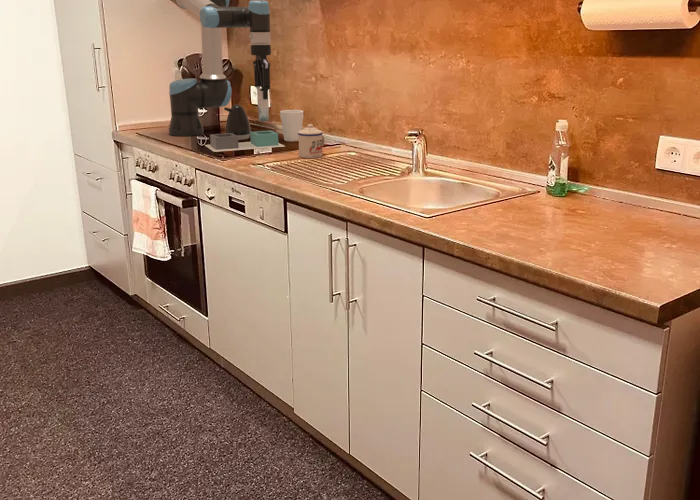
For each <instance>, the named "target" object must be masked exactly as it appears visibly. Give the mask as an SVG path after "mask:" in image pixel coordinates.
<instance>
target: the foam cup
mask: <svg viewBox="0 0 700 500" xmlns="http://www.w3.org/2000/svg"><path fill="white" fill-rule="evenodd" d="M279 118H280V121H281V128H282V129H281V130H282V134H283V139H284V141H286V142H299V135H298V132H299V131H300V130H303V124H304V123H303V122H304V121H303V120H304V110H301V109H283V110H280V111H279Z"/></svg>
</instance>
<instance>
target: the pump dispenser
mask: <svg viewBox="0 0 700 500" xmlns="http://www.w3.org/2000/svg"><path fill="white" fill-rule="evenodd" d="M223 109H224V111H227V112H228V114H227V118H226V123H225V134H226V133H233V134H235V135H236V136H238V141H244V140H248V139H250V138H251V136H250V132H252V131H251V130H252V129H251V125H250V120H249V117H248V115H247V113H246V110H245V109H244V107H243V106H242V105H240V104H234V105H232V107H230V108H229V107H226V106H224V108H223Z"/></svg>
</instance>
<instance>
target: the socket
mask: <svg viewBox="0 0 700 500" xmlns="http://www.w3.org/2000/svg"><path fill="white" fill-rule="evenodd" d="M250 142H251V144H253V145H255V146H257V147H260V146H273V145H279V144H278V143H279V133H278V132H275V131H273V130H259V131H257V130H256V131H251V132H250Z"/></svg>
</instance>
